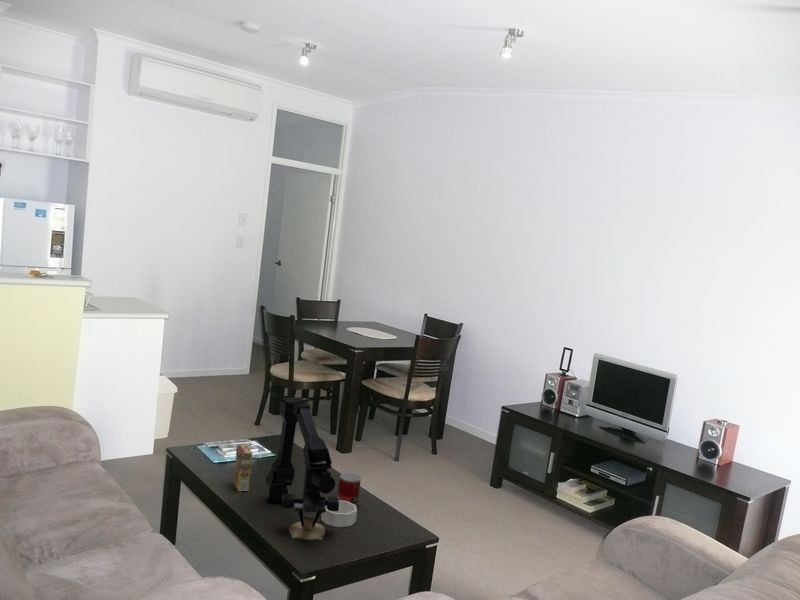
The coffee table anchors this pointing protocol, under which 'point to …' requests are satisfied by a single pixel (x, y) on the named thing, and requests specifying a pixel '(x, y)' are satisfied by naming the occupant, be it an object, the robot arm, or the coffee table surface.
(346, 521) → the bowl
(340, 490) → the canned food
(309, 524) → the lid
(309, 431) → the robot arm
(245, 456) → the candy box
